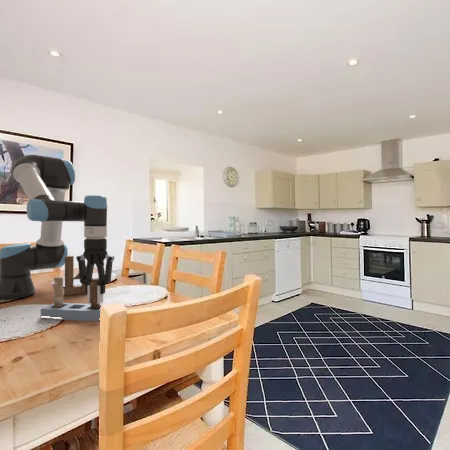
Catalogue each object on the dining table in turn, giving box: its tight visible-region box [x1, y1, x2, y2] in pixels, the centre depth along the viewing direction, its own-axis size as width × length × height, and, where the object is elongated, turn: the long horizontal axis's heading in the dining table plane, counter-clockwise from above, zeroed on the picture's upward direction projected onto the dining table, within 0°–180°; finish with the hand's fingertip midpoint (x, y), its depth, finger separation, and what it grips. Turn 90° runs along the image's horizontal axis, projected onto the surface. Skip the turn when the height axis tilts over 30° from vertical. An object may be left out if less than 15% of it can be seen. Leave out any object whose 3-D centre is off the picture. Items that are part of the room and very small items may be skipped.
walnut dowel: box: [90, 277, 101, 310], centre depth 106 cm, size 3×3×14 cm
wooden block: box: [63, 255, 87, 296], centre depth 138 cm, size 4×11×18 cm, turn 115°
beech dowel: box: [53, 276, 64, 308], centre depth 107 cm, size 3×3×14 cm
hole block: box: [40, 302, 103, 322], centre depth 107 cm, size 22×8×4 cm, turn 86°
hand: (95, 302), depth 106 cm, fingers closed on walnut dowel, 3 cm apart
